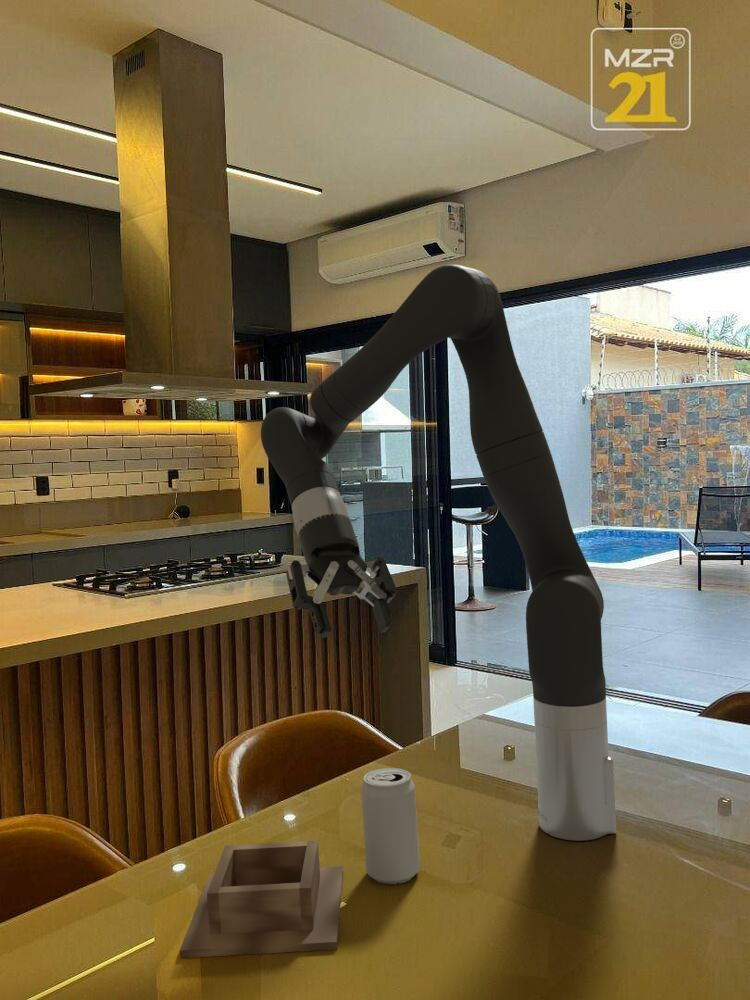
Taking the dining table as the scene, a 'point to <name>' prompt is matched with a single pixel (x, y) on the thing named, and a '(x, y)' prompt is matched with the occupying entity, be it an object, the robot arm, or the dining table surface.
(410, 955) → the dining table surface
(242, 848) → the well
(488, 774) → the dining table surface
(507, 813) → the dining table surface
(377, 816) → the beverage can
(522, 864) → the dining table surface
